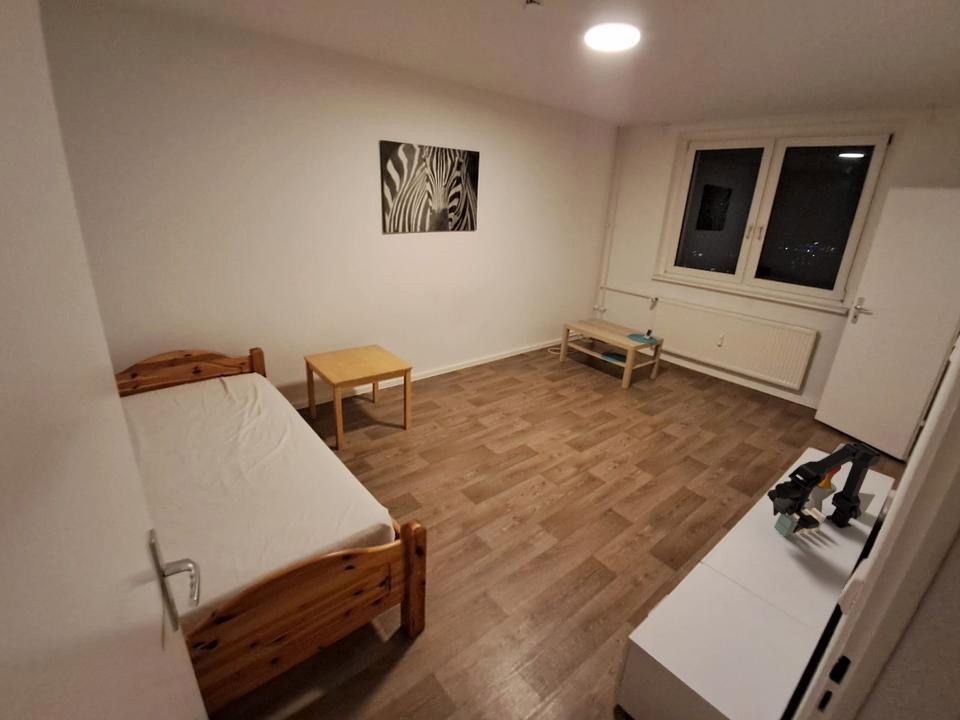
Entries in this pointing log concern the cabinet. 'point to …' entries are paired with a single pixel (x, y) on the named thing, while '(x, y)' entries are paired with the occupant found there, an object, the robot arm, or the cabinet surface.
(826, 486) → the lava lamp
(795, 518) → the domino
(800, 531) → the domino
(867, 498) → the supplement box
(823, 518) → the end domino
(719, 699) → the cabinet surface
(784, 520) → the domino
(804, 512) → the domino
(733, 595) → the cabinet surface
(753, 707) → the cabinet surface
